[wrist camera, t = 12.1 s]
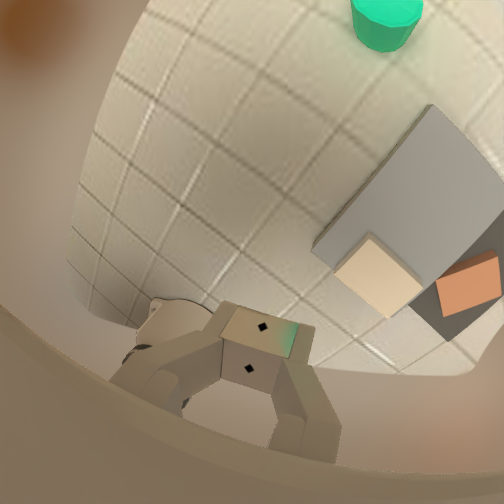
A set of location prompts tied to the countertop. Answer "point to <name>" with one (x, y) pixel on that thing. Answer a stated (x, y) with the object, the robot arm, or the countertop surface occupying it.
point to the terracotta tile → (469, 283)
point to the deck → (421, 201)
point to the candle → (385, 22)
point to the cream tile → (378, 276)
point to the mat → (428, 307)
